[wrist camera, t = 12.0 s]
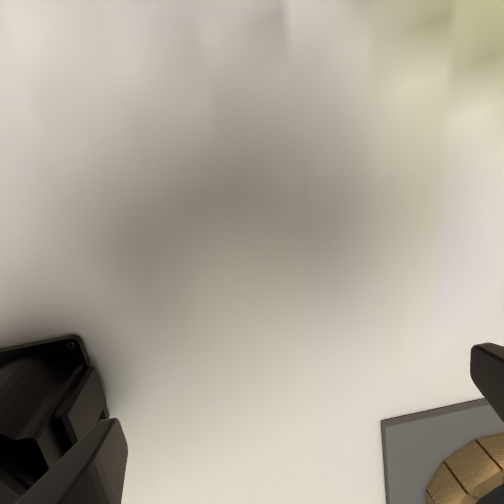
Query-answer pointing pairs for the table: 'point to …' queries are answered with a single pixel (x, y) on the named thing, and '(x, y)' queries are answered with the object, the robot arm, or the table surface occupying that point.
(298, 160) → the table surface
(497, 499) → the grey tall cylinder
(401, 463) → the mat
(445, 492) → the ring collar
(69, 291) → the table surface
